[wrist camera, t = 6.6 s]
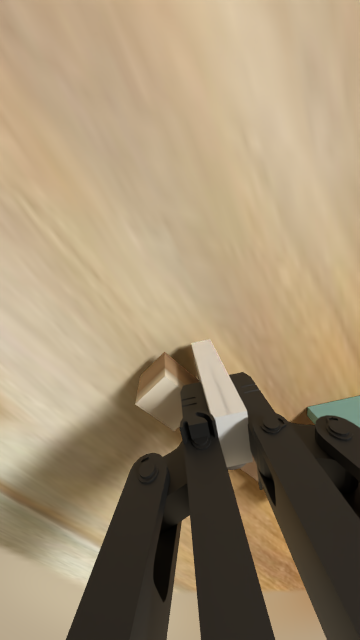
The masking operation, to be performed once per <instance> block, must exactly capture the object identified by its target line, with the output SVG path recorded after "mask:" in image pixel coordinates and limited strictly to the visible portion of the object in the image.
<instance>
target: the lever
mask: <svg viewBox="0 0 360 640" xmlns="http://www.w3.org/2000/svg"><path fill="white" fill-rule="evenodd" d="M197 382H199V380H198V379H197V378H195V377H194V376H193V375H192V374H191V373H189V372H188V371H187V370H186V369H185V368H183V367H182V366H181V365H180V364H179V363H177V362H176V361H175V360H174V359H173V358H171V357H170V356H169V355H168V354H167V353H165V352H164V353H163V354H162V355H161V356H160V357H159V358H158V359H157V360H156V361H155V362H154V363H153V364H152V365H151V366H150V367H149V368H147V369H146V370H145V371H144V372H143V373H142V374H141V375H140V381H139V386H138V391H137V397H136V402H135V405H137V406H138V407H140V408H141V409H143V410H144V411H145V412H147V413H148V414H150V415H151V416H153V417H154V418H155V419H157V420H158V421H160V422H161V423H163V424H164V425H166V426H167V427H168V428H170V429H171V430H173V431H175V430H176V429H177V428H179V427H180V422H181V420H182V418H183V415H182V405H181V395H180V392H181V389H182V387H183V385H188V384H192V383H197ZM252 459H253V462H250V463H245V464H240V465H236V466H231V467H227V469H229V470H235V469H239V468H240V469H241V470H243V471H244V472H246V473H247V474H248V475H250V476H251V477H253V478H254V479H255V480H257V481H258V473H257V465H256V462H255V460H254V458H253V455H252Z"/></svg>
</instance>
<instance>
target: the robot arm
mask: <svg viewBox="0 0 360 640" xmlns="http://www.w3.org/2000/svg"><path fill="white" fill-rule="evenodd" d="M191 345H192V350H193V355H194V360H195V365H196V370H197V375H198V379H199V382H197V383H192V384H188V385H183V387H182V389H181V392H180V395H181V405H182V415H183V418H182V420H181V422H180V427H179V428H180V431H181V435H182V439H183V440H182V442H181V444H180V445H179V446H178V447H177V448H176V449H175V450H174V451H172V452H171V453H169V454H167V455H165V456H164V457H162V456H161V455H160V454H156V453H150V454H146V455H144V456H142V457H140V458H139V459H138V460H137V461H136V462H135V463H134V465H133V467H132V469H131V470H130V473H129V476H128V478H127V481H126V483H125V486H124V489H123V491H122V494H121V496H120V499H119V502H118V504H117V507H116V510H115V512H114V515H113V517H112V520H111V523H110V525H109V528H108V531H107V533H106V536H105V538H104V541H103V544H102V546H101V549H100V552H99V554H98V557H97V559H96V562H95V565H94V567H93V570H92V572H91V575H90V578H89V580H88V583H87V586H86V588H85V591H84V594H83V596H82V599H81V601H80V604H79V607H78V609H77V612H76V614H75V617H74V620H73V622H72V625H71V628H70V630H69V633H68V636H67V638H66V640H166V639H167V631H168V623H169V615H170V607H171V600H172V592H173V584H174V577H175V569H176V561H177V553H178V546H179V538H180V530H181V522H182V520H183V519H185V518H186V517H188V516H189V515H190V520H191V531H192V542H193V554H194V565H195V576H196V587H197V599H198V609H199V621H200V632H201V640H275V637H274V634H273V630H272V627H271V623H270V619H269V616H268V612H267V609H266V605H265V602H264V598H263V594H262V591H261V587H260V584H259V580H258V577H257V573H256V569H255V566H254V562H253V559H252V555H251V552H250V548H249V544H248V541H247V537H246V534H245V530H244V527H243V523H242V519H241V516H240V512H239V509H238V505H237V502H236V498H235V494H234V491H233V487H232V484H231V480H230V477H229V473H228V469H227V467H231V466H236V465H240V464H245V463H250V462H253V459H252V455H253V458H254V460H255V462H256V465H257V473H258V483H259V488H260V490H262V489H263V488H264V491H265V493H266V496H267V498H268V500H269V503H270V505H271V507H272V510H273V512H274V515H275V517H276V519H277V522H278V524H279V526H280V529H281V531H282V534H283V536H284V538H285V541H286V543H287V545H288V548H289V550H290V553H291V555H292V557H293V560H294V562H295V565H296V567H297V569H298V572H299V574H300V576H301V579H302V581H303V584H304V586H305V588H306V591H307V593H308V595H309V598H310V600H311V602H312V605H313V607H314V610H315V612H316V614H317V617H318V619H319V622H320V624H321V626H322V629H323V631H324V633H325V636H326V638H327V640H360V427H358V426H357V425H355V424H354V423H352V422H350V421H348V420H346V419H345V418H341V417H338V416H333V415H325V416H322V417H319V418H318V419H317V420H316V424H315V425H304V424H295V423H291V422H288V421H287V420H286V419H285V418H284V417H282V416H281V415H279V414H277V413H275V412H274V410H273V409H272V407H271V406H270V404H269V403H268V402H267V400H266V399H265V397H264V396H263V394H262V393H261V391H260V390H259V388H258V387H257V385H255V382H254V381H253V380H252V378H251V377H250V376H248V375H247V374H245V373H244V372H241V373H237V374H232V375H228V373H227V371H226V369H225V367H224V365H223V363H222V361H221V359H220V357H219V355H218V353H217V351H216V349H215V347H214V346H213V344H212V342H211V340H210V339H208V340H203V341H198V342H194V343H191ZM262 486H263V487H262Z"/></svg>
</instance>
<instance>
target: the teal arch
mask: <svg viewBox="0 0 360 640" xmlns="http://www.w3.org/2000/svg"><path fill="white" fill-rule="evenodd" d="M325 415H333V416H338V417H341V418H345V419H346V420H348V421H350V422H352V423H354V424H355V425H357V426H358V427H360V396H356V397H351V398H347V399H342V400H338V401H333V402H329V403H324V404H320V405H315V406H310V407H308V413H307V416H308V417H309V418H310V419H311V420H312V422H313V423H314V424H316V420H317V419H318V418H319V417H322V416H325Z"/></svg>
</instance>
